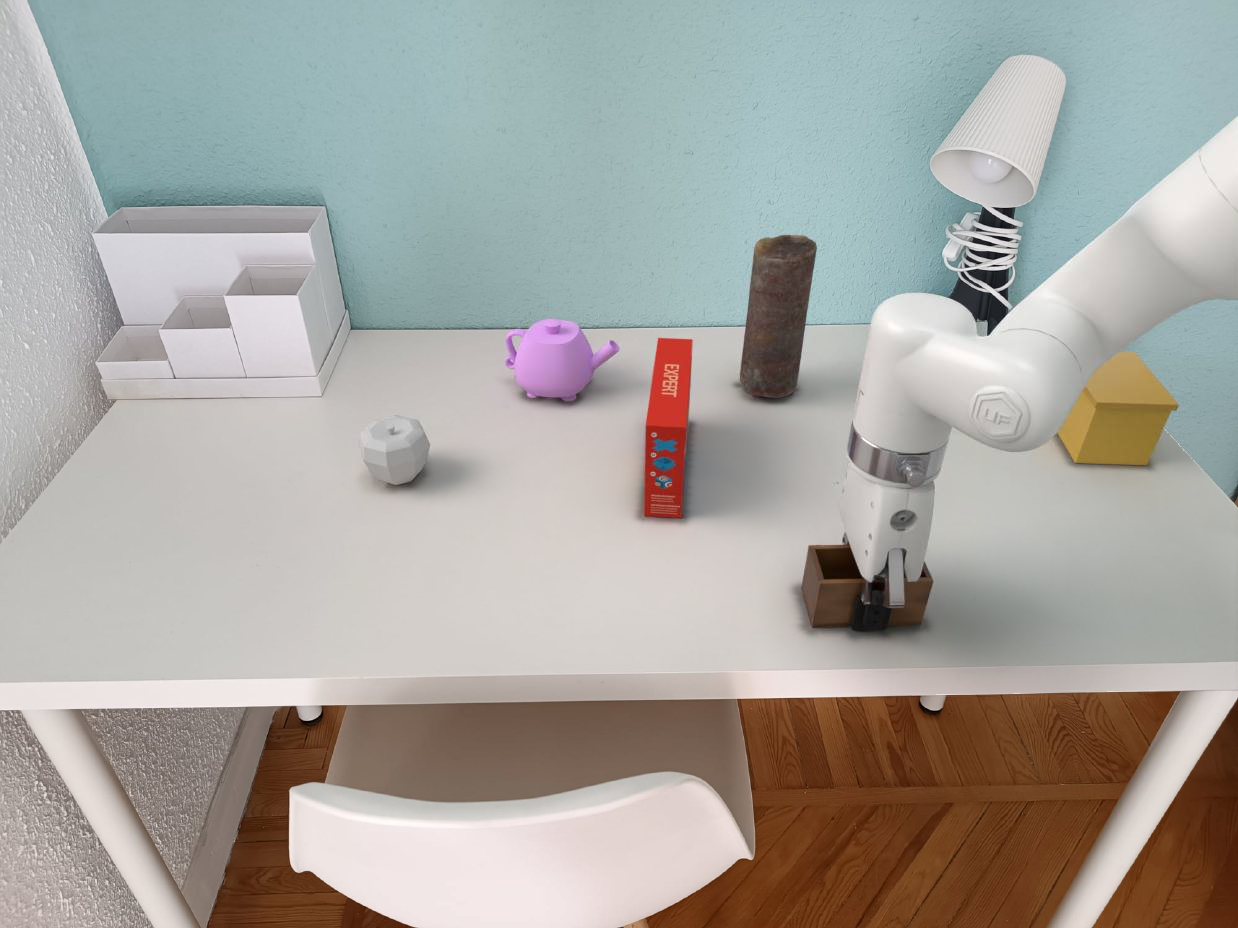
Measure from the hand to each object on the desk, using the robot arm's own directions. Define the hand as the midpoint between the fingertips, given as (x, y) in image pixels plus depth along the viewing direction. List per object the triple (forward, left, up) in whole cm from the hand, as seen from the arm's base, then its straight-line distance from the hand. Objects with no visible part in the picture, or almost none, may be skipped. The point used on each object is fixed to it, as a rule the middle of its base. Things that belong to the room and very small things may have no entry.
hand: (860, 603), depth 81 cm
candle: (+23, -31, -1) cm, 38 cm away
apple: (+51, +7, -1) cm, 51 cm away
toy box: (+26, -10, -1) cm, 28 cm away
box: (-14, -41, 0) cm, 44 cm away
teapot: (+46, -18, -1) cm, 49 cm away
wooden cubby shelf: (0, 0, 0) cm, 0 cm away
